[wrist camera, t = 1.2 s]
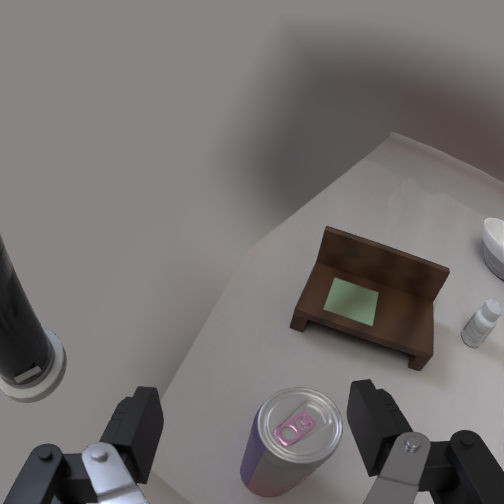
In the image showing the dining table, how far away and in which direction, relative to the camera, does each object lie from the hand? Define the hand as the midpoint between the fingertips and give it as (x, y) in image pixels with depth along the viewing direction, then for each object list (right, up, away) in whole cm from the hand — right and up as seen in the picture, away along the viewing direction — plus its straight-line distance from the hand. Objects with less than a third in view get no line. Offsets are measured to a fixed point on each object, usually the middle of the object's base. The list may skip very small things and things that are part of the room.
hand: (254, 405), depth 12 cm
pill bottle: (+36, -8, +31) cm, 49 cm away
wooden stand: (+17, -4, +33) cm, 37 cm away
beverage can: (+2, -17, +15) cm, 23 cm away
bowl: (+60, +2, +48) cm, 77 cm away
